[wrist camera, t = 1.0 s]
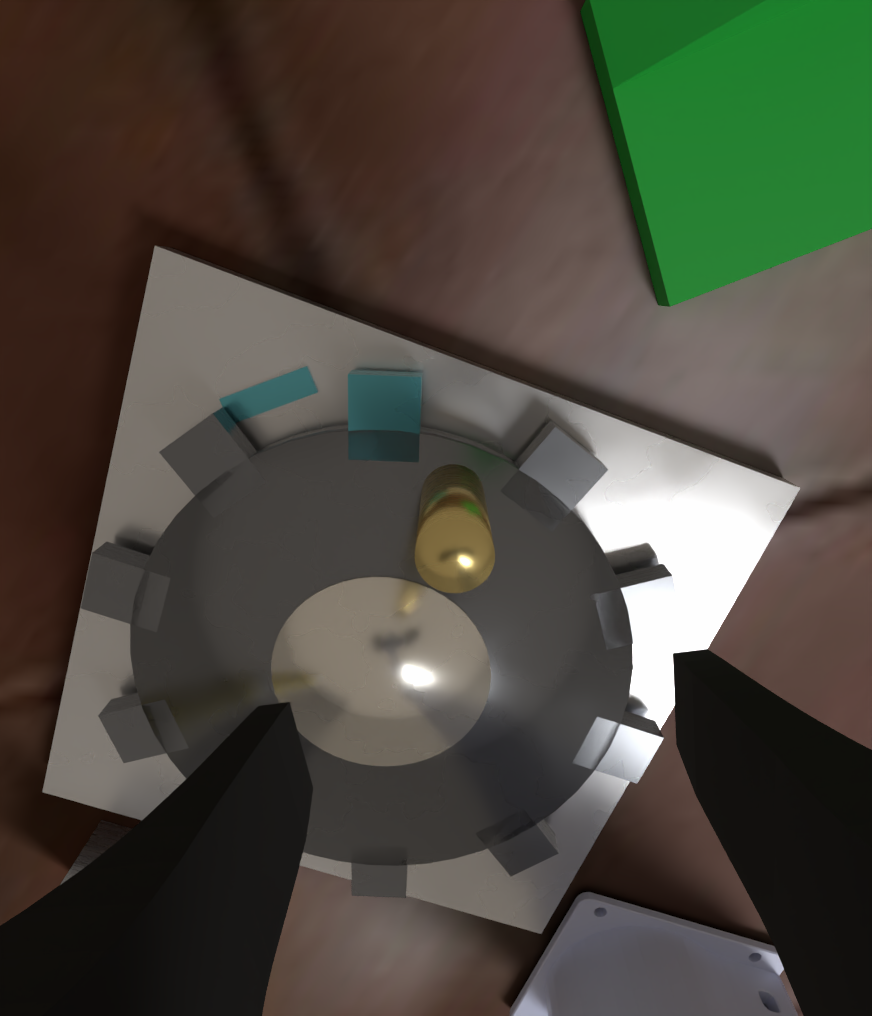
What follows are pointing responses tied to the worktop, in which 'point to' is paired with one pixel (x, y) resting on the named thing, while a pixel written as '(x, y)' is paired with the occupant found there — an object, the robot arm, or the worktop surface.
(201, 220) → the worktop surface
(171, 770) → the base plate
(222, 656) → the sprocket
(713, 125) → the bracket
